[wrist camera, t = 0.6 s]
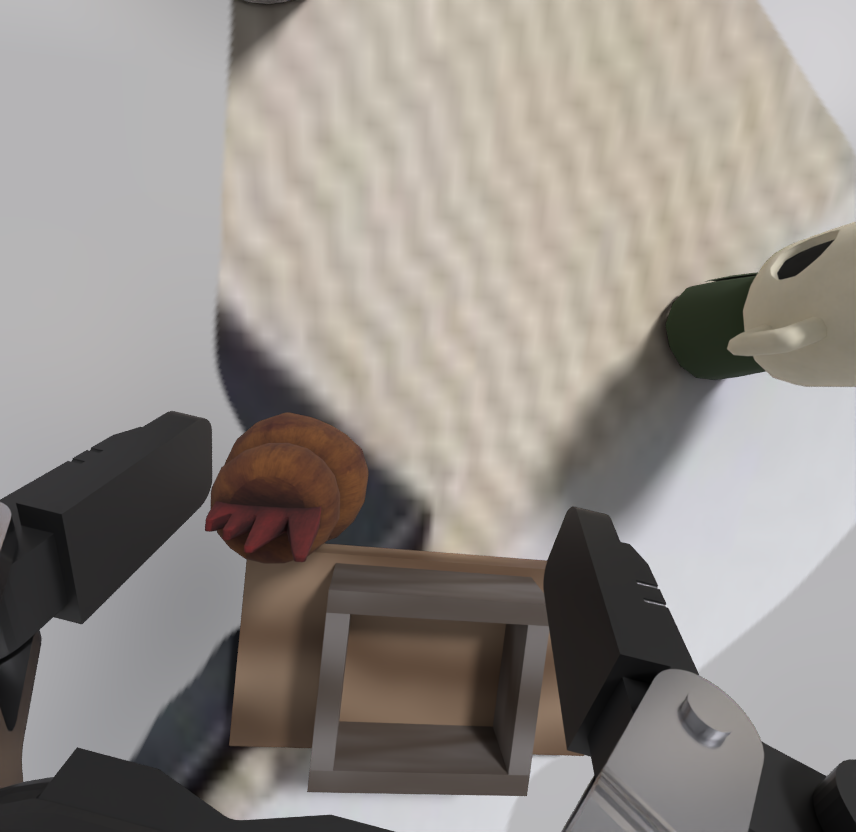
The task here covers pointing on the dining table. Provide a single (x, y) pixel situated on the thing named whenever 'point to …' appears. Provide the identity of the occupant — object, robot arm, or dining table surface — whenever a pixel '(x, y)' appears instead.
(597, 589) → the robot arm
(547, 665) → the socket stand
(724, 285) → the character mug
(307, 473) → the wooden figurine
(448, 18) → the dining table surface
